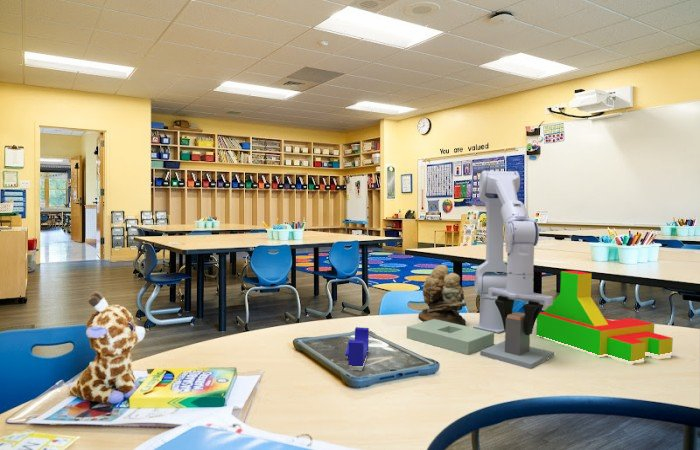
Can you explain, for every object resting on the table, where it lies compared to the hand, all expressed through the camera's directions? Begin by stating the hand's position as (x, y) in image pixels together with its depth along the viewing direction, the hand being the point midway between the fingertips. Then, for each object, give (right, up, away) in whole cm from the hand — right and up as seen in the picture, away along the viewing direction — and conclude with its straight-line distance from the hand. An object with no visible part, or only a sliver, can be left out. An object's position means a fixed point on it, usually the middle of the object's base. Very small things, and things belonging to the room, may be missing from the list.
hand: (517, 331), depth 108 cm
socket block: (-13, -5, +11) cm, 18 cm away
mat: (0, -6, 0) cm, 6 cm away
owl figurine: (-11, -4, +31) cm, 34 cm away
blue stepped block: (-37, -6, -5) cm, 38 cm away
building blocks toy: (+25, -6, +10) cm, 27 cm away
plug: (0, -5, 0) cm, 5 cm away
